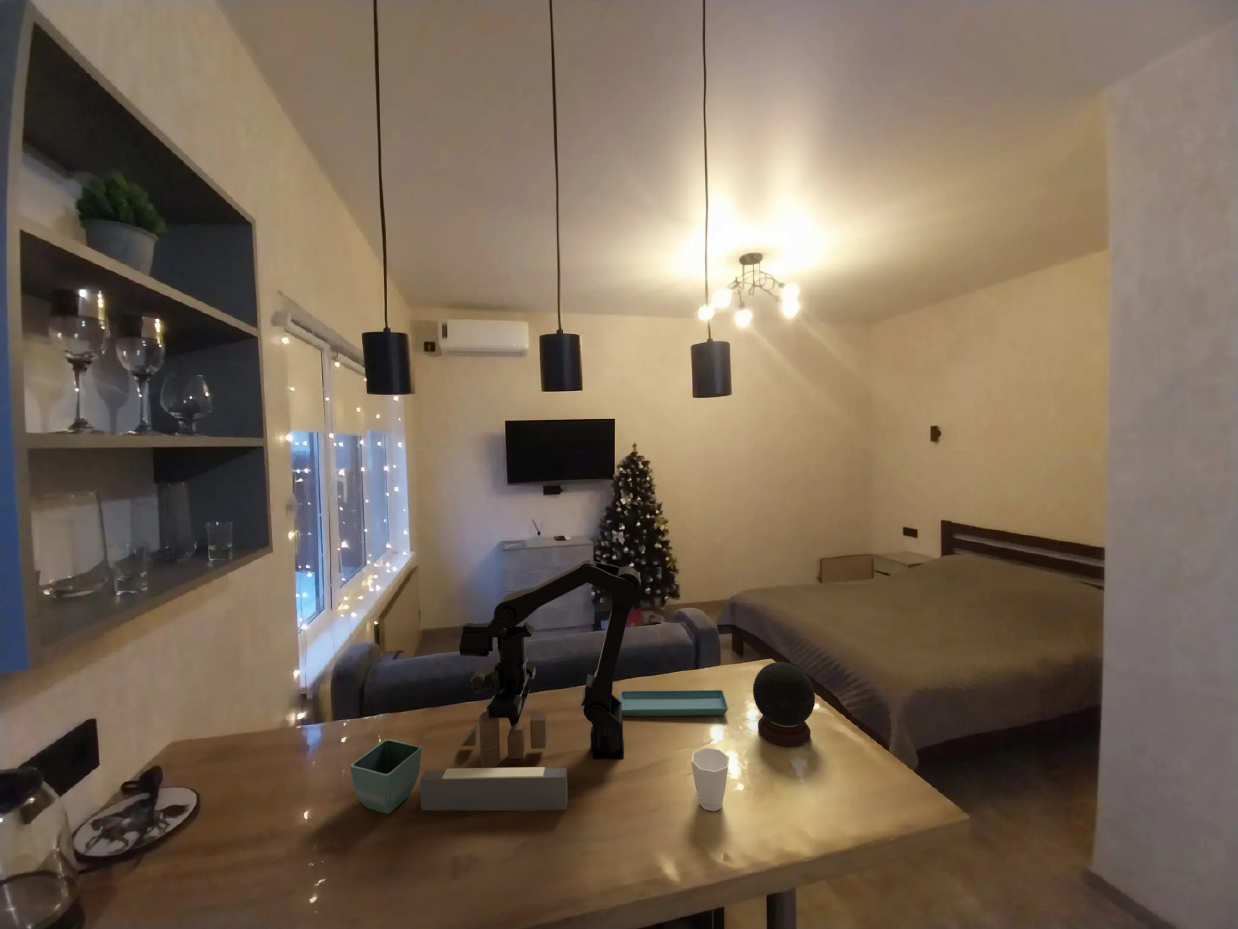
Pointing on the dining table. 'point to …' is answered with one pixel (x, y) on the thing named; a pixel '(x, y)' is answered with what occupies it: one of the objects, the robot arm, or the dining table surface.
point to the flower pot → (386, 774)
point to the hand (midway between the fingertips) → (514, 726)
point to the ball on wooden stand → (784, 703)
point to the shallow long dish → (673, 703)
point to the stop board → (494, 789)
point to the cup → (710, 776)
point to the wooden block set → (514, 739)
